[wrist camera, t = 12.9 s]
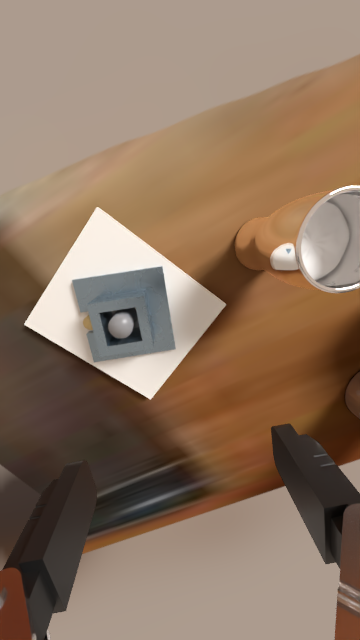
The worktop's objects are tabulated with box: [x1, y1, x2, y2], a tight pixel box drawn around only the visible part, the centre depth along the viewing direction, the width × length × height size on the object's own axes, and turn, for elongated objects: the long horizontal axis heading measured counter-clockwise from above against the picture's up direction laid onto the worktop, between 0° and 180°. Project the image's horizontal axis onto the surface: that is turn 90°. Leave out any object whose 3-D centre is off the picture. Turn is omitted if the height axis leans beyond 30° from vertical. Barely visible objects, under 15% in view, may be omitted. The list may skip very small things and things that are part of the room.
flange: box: [72, 266, 176, 362], centre depth 28 cm, size 10×10×5 cm
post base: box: [24, 207, 226, 400], centre depth 28 cm, size 18×16×6 cm
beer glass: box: [235, 185, 360, 293], centre depth 23 cm, size 7×7×15 cm
